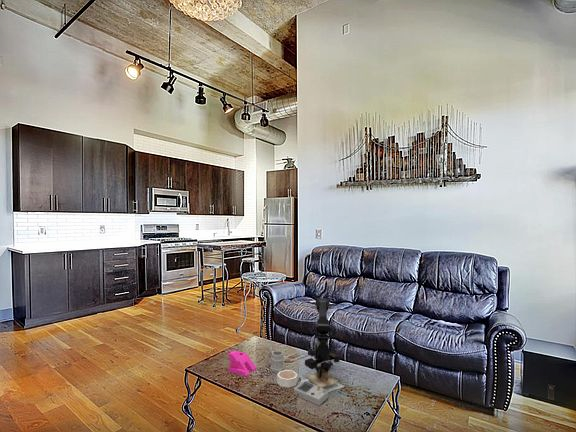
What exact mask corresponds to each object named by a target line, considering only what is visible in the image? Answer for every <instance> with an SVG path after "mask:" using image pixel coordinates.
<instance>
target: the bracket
mask: <svg viewBox="0 0 576 432" xmlns="http://www.w3.org/2000/svg"><path fill="white" fill-rule="evenodd" d="M227 357H228V361H229V362H230V363H229V367H228V368H227V369H228V370H227V371H229V372H228V373H230V372H232V373H231V374H234V373H236V374H235V375H238V374H239V375H238V376H241V375H242V377H245V378H247V377H249V376H250V373H251V372H255V371H256V370H257V366H256V365H255V364H254V362H253V360H252V359H251V358H250V356H249V355H248V353H245V352H243V351H238V350H234V349H233V350H232V351H230V352H228V356H227Z"/></svg>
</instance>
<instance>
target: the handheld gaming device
mask: <svg viewBox="0 0 576 432" xmlns="http://www.w3.org/2000/svg"><path fill="white" fill-rule="evenodd" d="M293 394H294V396H296V397H298V398H301V399H303V400H306V401H307V402H309V403H312V404H315V405H316V406H319V407H320V406H321V405H322V404H323V403H325V401H326V400H327V399H328V397H329V392H327V391H326V390H325V389H323V388H321V387H319V386H317V385H314V384H312V383H309V382H307V381H303V382H302V381H301V382H300V383H299V384H298V385H296V386H294V388H293Z"/></svg>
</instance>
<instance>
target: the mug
mask: <svg viewBox="0 0 576 432" xmlns="http://www.w3.org/2000/svg"><path fill="white" fill-rule="evenodd" d="M284 360H285V358H284V352H283V351H281V350H273V347H272V345H270V346H269V349H268V352H267V361H266V362H267V363H268V365H269V366H270V371H271V373H273V374H278V373H279V372H280V371H283V370H285V364H284Z"/></svg>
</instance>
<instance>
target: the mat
mask: <svg viewBox="0 0 576 432" xmlns="http://www.w3.org/2000/svg"><path fill="white" fill-rule="evenodd" d="M303 381H307V382H309V383H312V382H311V381H310V380H308V379H307V378H304V379H301V380H300V382H301V383H302V382H303ZM312 384H314V383H312ZM314 385H315V384H314ZM344 387H345V386H344V385H343V384H341V383H340V382H338V383H335V384H332V385H328V386H325V387H322V388H323V389H325V390H326V391H327V392H328V393H329V392H333V391H335V390H339V389H341V388H344Z"/></svg>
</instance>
